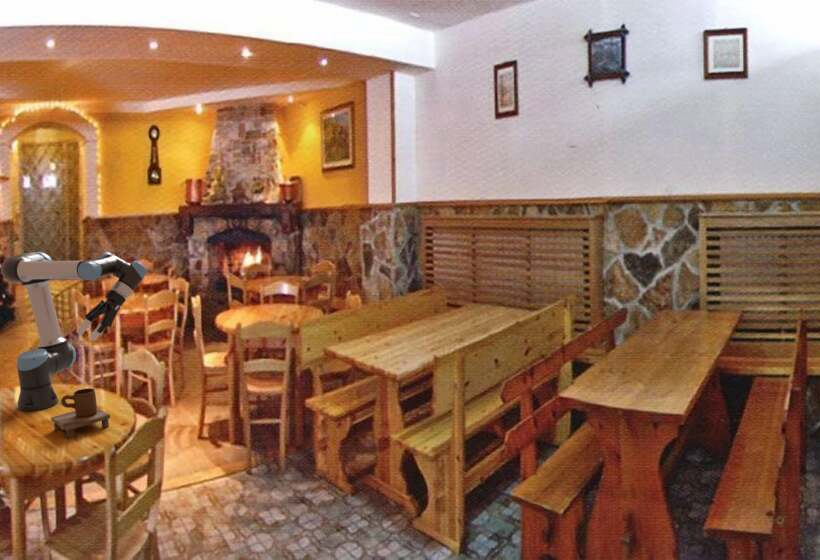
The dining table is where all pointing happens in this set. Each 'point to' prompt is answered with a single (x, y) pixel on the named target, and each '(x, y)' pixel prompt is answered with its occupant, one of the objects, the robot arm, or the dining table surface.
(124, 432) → the dining table surface
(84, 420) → the brown wooden bench
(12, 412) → the dining table surface
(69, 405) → the mug
